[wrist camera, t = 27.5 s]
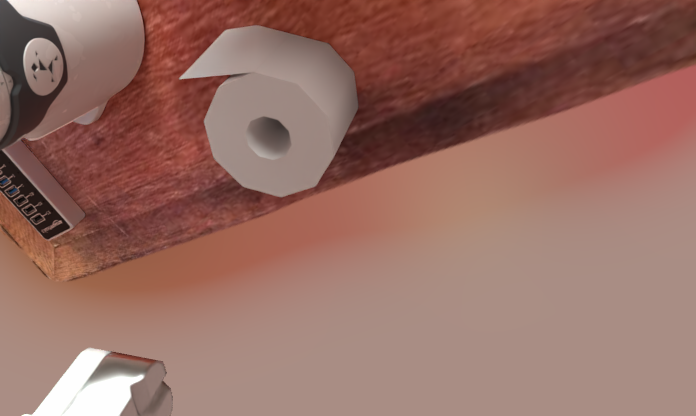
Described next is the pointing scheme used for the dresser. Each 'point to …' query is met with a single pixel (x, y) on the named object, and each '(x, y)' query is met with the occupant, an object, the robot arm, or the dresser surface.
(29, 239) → the dresser surface
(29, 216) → the multiport hub
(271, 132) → the toilet tissue
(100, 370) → the robot arm
